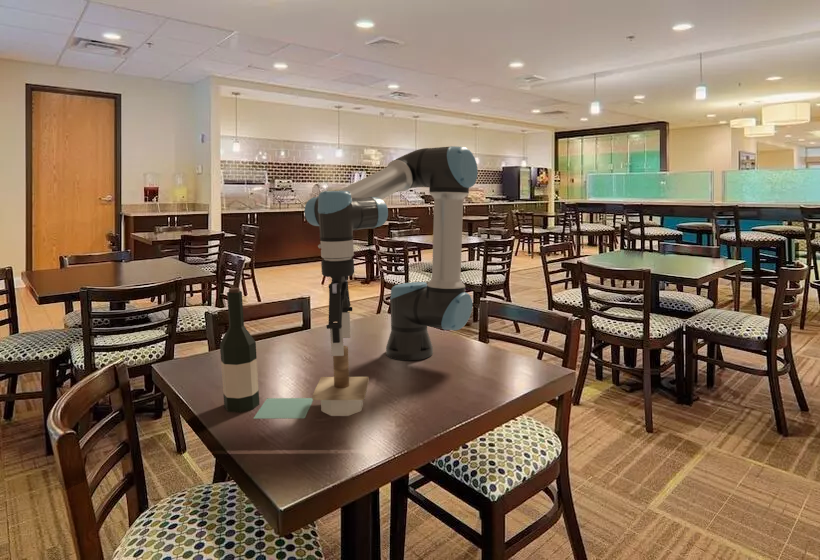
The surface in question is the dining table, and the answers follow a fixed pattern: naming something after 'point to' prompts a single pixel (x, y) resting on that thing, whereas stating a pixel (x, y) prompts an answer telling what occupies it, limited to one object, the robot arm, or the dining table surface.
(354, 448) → the dining table surface
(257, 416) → the mat
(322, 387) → the beech lid
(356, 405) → the bowl
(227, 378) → the wine bottle
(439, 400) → the dining table surface
